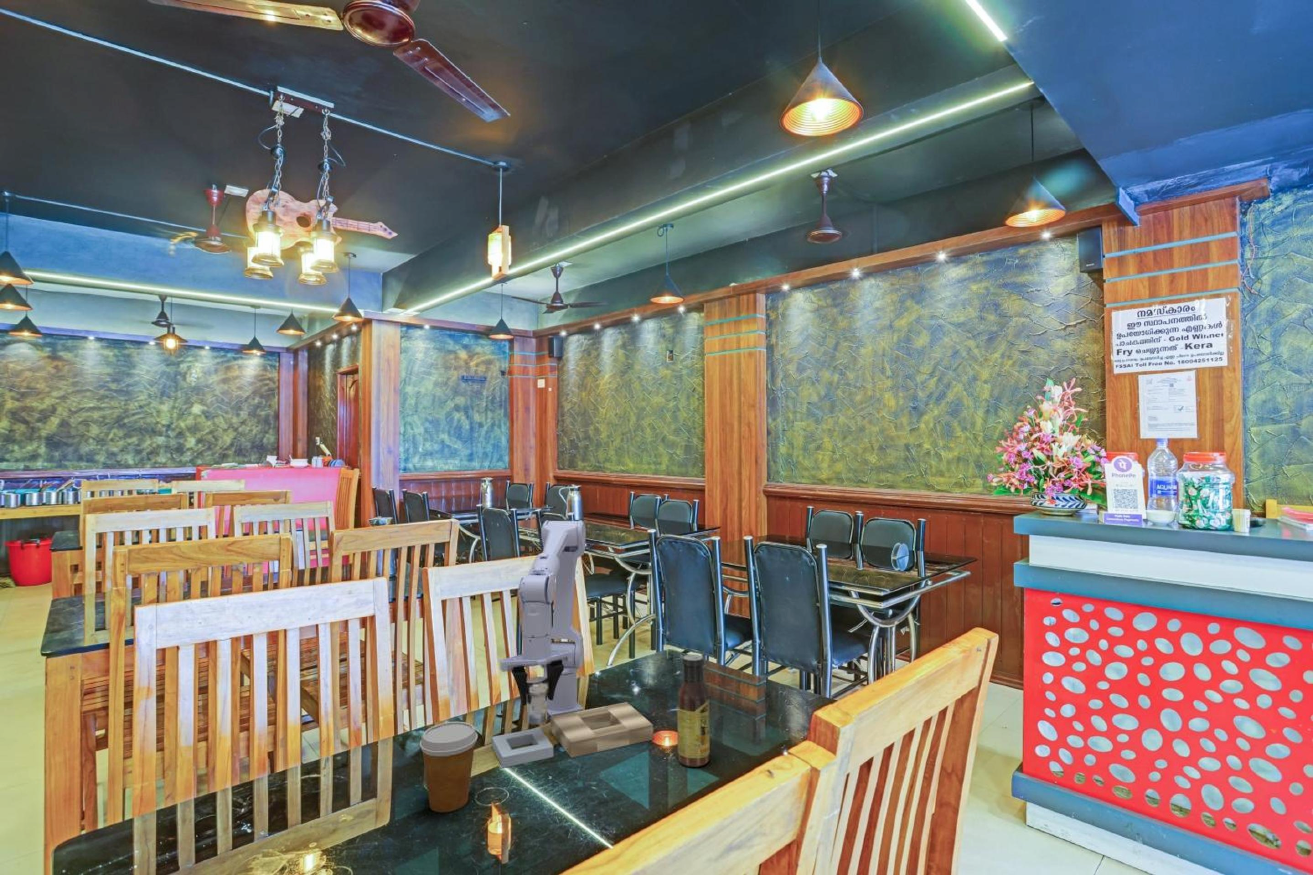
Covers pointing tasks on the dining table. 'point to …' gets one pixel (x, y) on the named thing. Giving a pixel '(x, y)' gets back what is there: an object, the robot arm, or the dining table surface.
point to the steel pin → (537, 700)
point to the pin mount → (522, 755)
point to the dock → (600, 729)
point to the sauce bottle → (693, 715)
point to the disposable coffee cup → (448, 764)
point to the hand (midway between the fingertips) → (537, 700)
